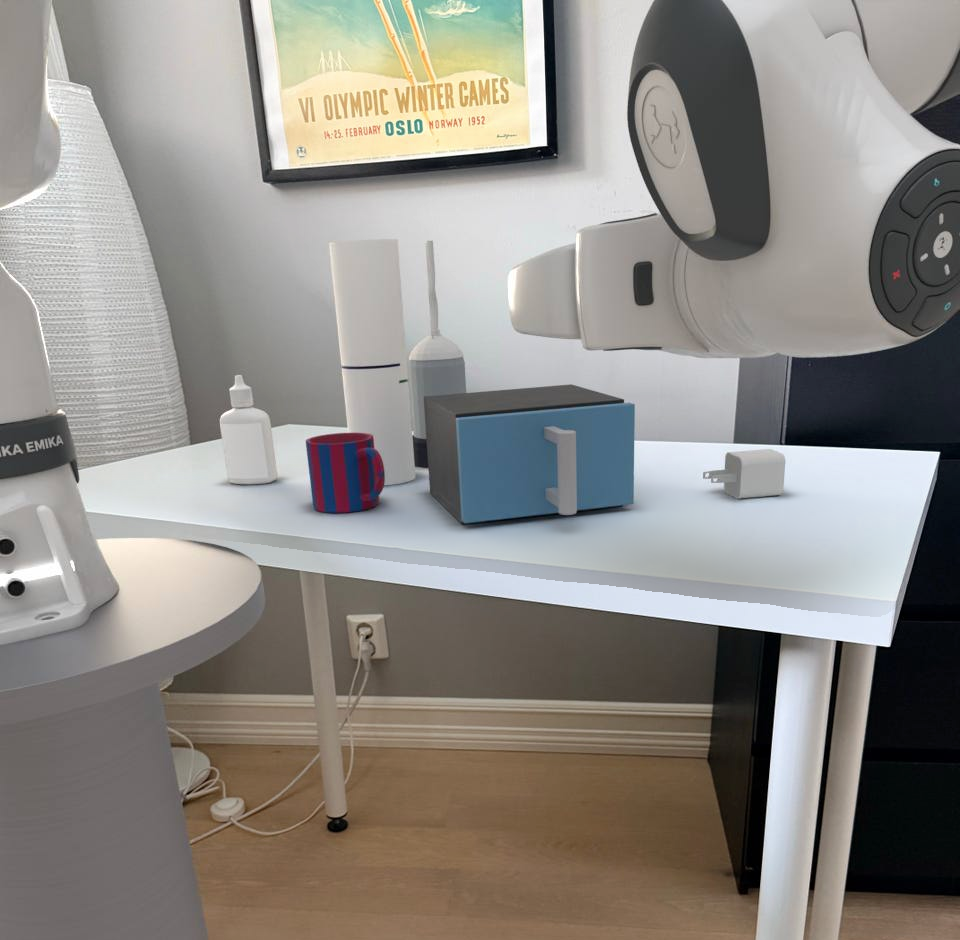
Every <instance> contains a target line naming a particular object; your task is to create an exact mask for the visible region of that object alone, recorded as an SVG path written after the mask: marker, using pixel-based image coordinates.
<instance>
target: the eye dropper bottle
mask: <svg viewBox="0 0 960 940" xmlns="http://www.w3.org/2000/svg"><path fill="white" fill-rule="evenodd" d="M228 391H229V398H230V405H231V407H232V409H229V410H227V411H225V412H224V413H222V414H221V416H220V417H219V428H220V436H221V442H222V449H223V455H224V463H225V468H226V469H225V471H226V475H227V476H226V477H227V480H228V482H229V483H231V484H234V485H264V484H265V485H266V484H269V483H272V482H274V481H276V480H277V479H278V467H277V461H276V460H277V459H276V453H275V446H274V445H275V444H274V439H273V430H272V424H271V419H270V416H269V414H268V413H266V412H265V411H264V410H262V409H259V408H255V407H254V398H253V391H252V387H251V386H249V385H246V384H245V381H244V378H243V376H242V374H237V375H234V385H232V387H230V388H229V390H228Z"/></svg>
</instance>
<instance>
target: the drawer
mask: <svg viewBox="0 0 960 940" xmlns="http://www.w3.org/2000/svg"><path fill="white" fill-rule="evenodd" d="M635 413H636V404H635V403H632V402H624V403H619V404H607V405H596V406H585V407H573V408H562V409H551V410H540V411H528V412H517V413H506V414H494V415H483V416H472V417H460V418H456V433H457V451H458V468H459V486H460V503H461V520H462V521H463V522H464V523H470V524H472V523H471V522H479V523H481V522H480V521H487V522H490V521H489V520H496V521H499V520H498V519H505V520H507V519H506V518H513V519H516V518H515V517H522V518H525V517H524V516H531V517H534V516H533V515H540V516H542V515H541V514H548V515H551V514H550V513H557V514H559V515H563V516H571V515H576V514H577V512H578V511H577V510H583V511H586V510H585V509H592V510H595V509H594V508H601V509H603V508H602V507H609V508H612V507H611V506H618V507H621V506H620V505H623V506H628V505H634V503H635V502H634V498H635V496H634V495H635V494H634V493H635V429H636V427H635V423H636V422H635V421H636V420H635V419H636V418H635V417H636V414H635Z"/></svg>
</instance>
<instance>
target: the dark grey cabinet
mask: <svg viewBox="0 0 960 940" xmlns="http://www.w3.org/2000/svg"><path fill="white" fill-rule="evenodd" d="M619 403H625V399H624V398H622V397H621V398H620V397H616V396H613V395H610V394H607V393H603V392H599V391H597V390H592V389H589V388H586V387H582V386H579V385H575V384H561V385H559V384H558V385H549V386H548V385H547V386H537V387H535V386H534V387H524V388H512V389H511V388H510V389H498V390H487V391H486V390H485V391H475V392H474V391H473V392H466V393H461V394H449V395H437V396H425V397H424V412H425V426H426V441H427V455H428V467H427V470H428V483H429V494H430V495H431V496H432V497H433V498H434V499H435V500H436V501H437V502H438V503H439V504H440V505H441V506H442V507H443V508H444V509H446V511H447V512H448V513H449V514H450V515H451V516H452V517H453V518H454V519H456V520H457V521H458V522H459V523H460V524H461V525H470V524H478V523H485V522H486V523H487V522H494V521H502V520H503V521H504V520H511V519H512V520H513V519H521V518H522V519H523V518H529V517H538V516H548V515H556V514H558V513H550V514H541V515H533V516H524V517H515V518H506V519H498V520H489V521H480V522H471V523H464V522H463V521H462V520H461V503H460V486H459V468H458V451H457V433H456V418H460V417H472V416H483V415H494V414H506V413H517V412H528V411H540V410H551V409H562V408H573V407H585V406H596V405H607V404H619ZM623 506H624V505H620V506H611V507H602V508H594V509H585V510H577V512H583V511H590V510H599V509H607V508H616V507H618V508H619V507H623Z"/></svg>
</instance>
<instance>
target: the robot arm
mask: <svg viewBox="0 0 960 940" xmlns="http://www.w3.org/2000/svg"><path fill="white" fill-rule="evenodd" d="M52 6H53V0H0V210H3V209H8V208H11V207H14V206H17V205H20V204H23V203H25V202H28V201H31V200H33V199H35V198H37V197H38V196H40V195H41V194H43V193H44V192H45V191H46V190H47V189H48V187H49V186H50V185H51V183H52V182H53V180H54V178H55V176H56V175H57V172H58V170H59V166H60V162H61V156H62V137H61V129H60V126H59V122H58V118H57V116H56V113H55V111H54V108H53V105H52V103H51V101H50V97H49V89H48V65H49V43H50V41H49V39H50V24H51V15H52V14H51V13H52ZM627 91H628V92H627V110H626V111H627V112H626V115H627V116H626V118H627V119H626V120H627V129H628V135H629V139H630V143H631V147H632V151H633V154H634V157H635V160H636V163H637V166H638V169H639V172H640V174H641V176H642V179H643V182H644V184H645V187H646V189H647V191H648V193H649V195H650V197H651V199H652V201H653V203H654V204H655V207H656V208H657V210H658V212H653V213H650V214H647V215H642V216H636V217H631V218H624V219H619V220H618V219H617V220H612V221H605V222H602V223H598V224H593V225H588V226H585V227H582V228H580V229H579V230H577V231H576V234H575V242H574V243H570V244H566V245H563V246H559V247H556V248H553V249H550V250H548V251H545V252H543V253H541V254H540V253H539V254H538V255H536V256H534V257H531V258H529V259H527V260H525V261H523V262H521V263H519V264H517V265H515V266H514V267H513V268H511V269H510V270H509V273H508V277H507V298H508V310H509V316H510V322H511V325H512V328H513V330H514V331H516V332H517V333H518V334H521V335H528V336H535V337H543V338H552V339H560V340H561V339H562V340H581V345H582V348H583V349H585V350H587V351H603V352H612V351H625V350H628V351H629V350H638V351H640V350H642V351H660V352H664V353H670V354H674V355H679V356H686V357H694V358H698V359H759V358H765V357H770V356H774V355H777V354H779V355H783V356H785V357H786V356H787V357H790V358H800V359H801V358H803V359H806V358H810V359H812V358H833V357H834V358H837V357H847V356H857V355H862V354H870V353H875V352H881V351H884V350H885V351H886V350H890V349H894V348H898V347H901V346H905V345H908V344H911V343H914V342H917V341H918V340H920V339H922V338H925V337H926V336H928V335H930V334H931V333H933V332H935V331H936V330H937V329H938V328H940V327H941V326H943V325H944V324H946V323H947V321H948V320H950V319H951V318H953V316H954V315H956V313H958V312H959V310H960V144H959V143H955V142H952V141H950V140H948V139H945V138H943V137H940V136H939V135H937V134H935V133H934V132H932V131H930V130H929V129H928V128H926V127H925V126H924V125H923V124H921V123H920V121H918V120H917V119H916V118H915V117H913V116H915V115H917V114H919V113H922V112H924V111H926V110H928V109H931V108H932V107H935V106H936V105H939V104H941V103H944V102H946V101H947V100H949V99H952V98H954V97H956V96H958V95H960V0H653V1H652V2H651V5H650V7H649V8H648V11H647V13H646V15H645V17H644V20H643V21H642V25H641V27H640V30H639V33H638V36H637V39H636V43H635V47H634V50H633V55H632V61H631V66H630V72H629V82H628V90H627ZM2 263H3V262H1V261H0V646H2V645H6V644H10V643H15V642H19V641H23V640H28V639H32V638H36V637H40V636H45V635H49V634H53V633H58V632H62V631H66V630H71V629H74V628H77V627H80V626H82V625H83V624H85V623H86V622H87V620H88V619H89V617H90V615H91V613H92V612H93V611H94V610H95V609H96V608H98V607H100V606H101V605H103V604H104V603H106V602H107V601H109V600H110V599H111V598H112V597H113V596H115V594H116V593H117V592H118V589H119V584H118V582H117V581H116V579H115V577H114V575H113V574H112V572H111V570H110V568H109V566H108V564H107V562H106V561H105V558H104V556H103V554H102V552H101V550H100V547H99V545H98V543H97V540H96V539H97V538H96V535H95V533H94V530H93V528H92V525H91V522H90V519H89V516H88V513H87V511H86V507H85V505H84V502H83V498H82V495H81V493H80V489H79V485H78V484H79V483H80V473H79V467H78V464H79V463H78V456H77V450H76V446H75V442H74V437H73V434H72V432H71V430H70V427H69V422H68V418H67V414H66V412H64V411H63V410H62V409H60V408H59V404H58V400H57V395H56V390H55V386H54V380H53V376H52V372H51V371H52V370H51V367H50V363H49V358H48V353H47V348H46V343H45V337H44V333H43V330H42V325H41V319H40V315H39V310H38V308H37V306H36V303H35V302H34V300H33V298H32V296H31V294H30V293H29V292H28V290H26V289H27V288H25V287H24V286H23V285H22V284H21V283H20V282H19V281H17V280H16V279H15V277H13V276H12V275H11V274H10V273H9V271H8V270H7V269H6V267H5V266H4V265H3V264H2Z"/></svg>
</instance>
